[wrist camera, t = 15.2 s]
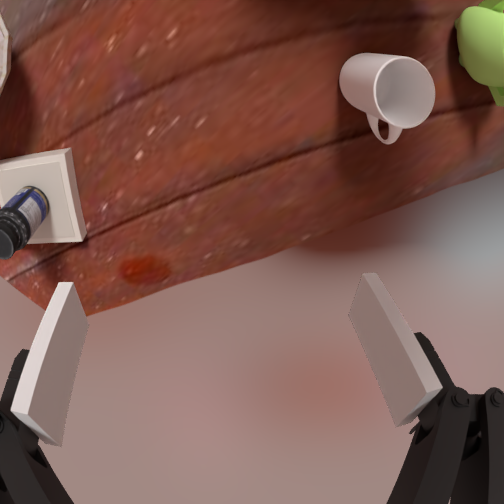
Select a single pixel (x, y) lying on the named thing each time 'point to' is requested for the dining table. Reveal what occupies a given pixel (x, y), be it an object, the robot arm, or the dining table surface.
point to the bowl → (4, 52)
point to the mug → (388, 90)
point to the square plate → (47, 192)
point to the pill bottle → (21, 219)
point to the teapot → (483, 45)
